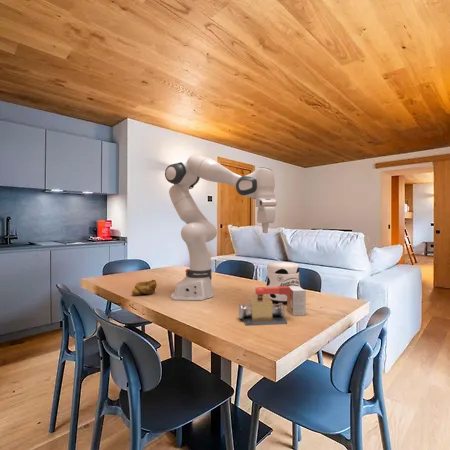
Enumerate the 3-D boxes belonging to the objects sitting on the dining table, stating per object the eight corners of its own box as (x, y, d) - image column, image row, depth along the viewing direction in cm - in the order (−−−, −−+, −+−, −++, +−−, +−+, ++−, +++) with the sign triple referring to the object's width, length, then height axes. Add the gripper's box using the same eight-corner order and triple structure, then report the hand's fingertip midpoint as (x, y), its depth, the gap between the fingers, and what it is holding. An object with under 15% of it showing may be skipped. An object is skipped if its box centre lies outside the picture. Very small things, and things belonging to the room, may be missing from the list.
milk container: (294, 307, 127) (294, 268, 126) (259, 302, 136) (259, 265, 135) (305, 298, 141) (305, 263, 141) (273, 294, 150) (273, 260, 150)
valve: (242, 325, 105) (241, 299, 105) (237, 314, 117) (237, 291, 117) (287, 323, 107) (287, 297, 106) (278, 313, 118) (278, 290, 118)
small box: (286, 309, 123) (286, 286, 123) (299, 309, 124) (299, 285, 124) (292, 315, 115) (292, 290, 115) (305, 315, 116) (305, 290, 116)
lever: (256, 295, 110) (256, 288, 110) (254, 292, 114) (254, 286, 114) (290, 294, 111) (290, 288, 111) (288, 292, 114) (288, 286, 114)
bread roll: (133, 297, 145) (133, 282, 145) (129, 293, 154) (129, 279, 154) (157, 294, 152) (157, 279, 152) (153, 290, 160) (152, 276, 160)
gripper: (254, 204, 138) (254, 232, 138) (263, 201, 118) (263, 234, 118) (266, 204, 139) (266, 232, 139) (277, 201, 118) (277, 233, 118)
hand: (265, 233), depth 128 cm, fingers closed
